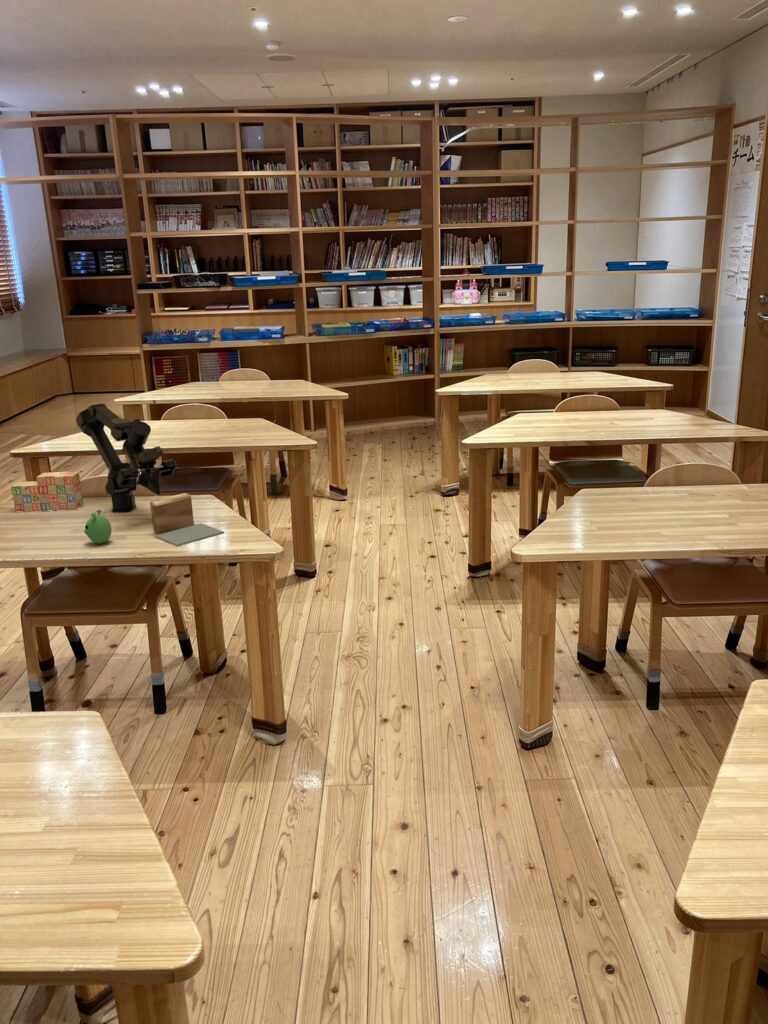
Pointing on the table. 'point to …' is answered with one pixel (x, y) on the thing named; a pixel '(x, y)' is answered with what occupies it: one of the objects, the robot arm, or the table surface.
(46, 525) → the table surface
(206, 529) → the mat
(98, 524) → the alien toy
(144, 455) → the robot arm
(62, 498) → the stack of blocks
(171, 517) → the slab
